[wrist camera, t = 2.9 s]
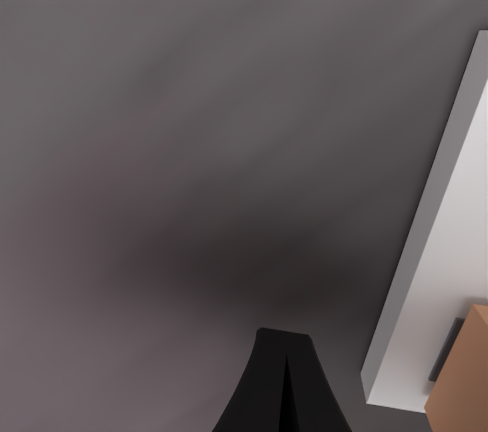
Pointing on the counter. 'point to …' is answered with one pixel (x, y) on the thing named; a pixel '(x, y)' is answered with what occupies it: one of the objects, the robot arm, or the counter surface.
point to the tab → (463, 380)
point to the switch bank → (438, 256)
